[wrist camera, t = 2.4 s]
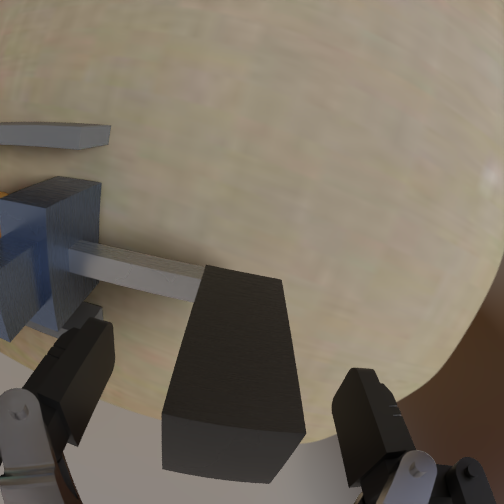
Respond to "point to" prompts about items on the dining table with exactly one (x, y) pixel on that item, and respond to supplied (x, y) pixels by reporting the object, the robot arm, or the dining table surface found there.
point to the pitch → (69, 139)
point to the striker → (195, 337)
